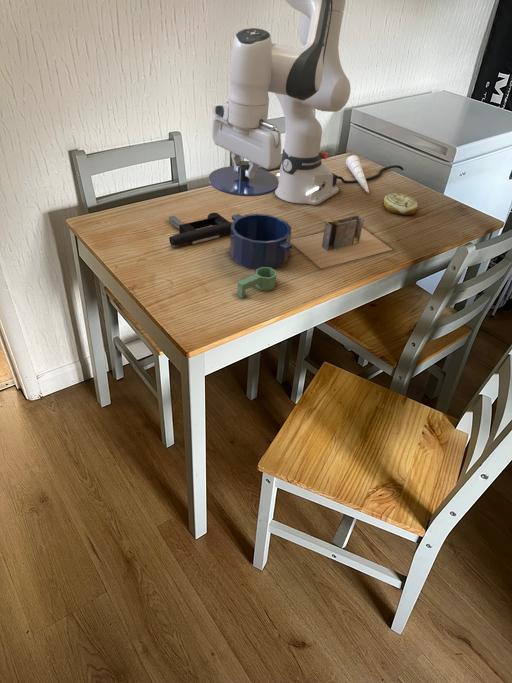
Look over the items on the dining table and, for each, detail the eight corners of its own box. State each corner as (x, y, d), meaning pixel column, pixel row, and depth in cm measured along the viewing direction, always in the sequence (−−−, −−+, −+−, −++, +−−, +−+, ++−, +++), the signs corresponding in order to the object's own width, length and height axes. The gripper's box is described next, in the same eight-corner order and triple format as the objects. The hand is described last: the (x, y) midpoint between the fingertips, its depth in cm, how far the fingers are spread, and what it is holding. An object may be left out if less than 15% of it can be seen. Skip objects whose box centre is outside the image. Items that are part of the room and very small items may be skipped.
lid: (246, 165, 138) (247, 145, 135) (292, 188, 129) (295, 167, 126) (194, 179, 129) (194, 158, 125) (240, 205, 120) (241, 182, 116)
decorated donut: (405, 220, 168) (408, 209, 165) (376, 208, 173) (378, 197, 171) (421, 210, 174) (424, 199, 172) (393, 199, 179) (395, 188, 177)
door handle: (150, 218, 153) (175, 240, 142) (211, 204, 162) (239, 224, 151) (151, 228, 155) (175, 251, 144) (211, 215, 164) (239, 235, 153)
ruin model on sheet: (321, 268, 143) (326, 235, 136) (288, 240, 153) (292, 208, 147) (392, 249, 153) (400, 218, 147) (357, 224, 164) (363, 194, 157)
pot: (254, 230, 156) (256, 205, 151) (307, 261, 145) (311, 235, 140) (212, 246, 148) (212, 220, 142) (264, 281, 136) (266, 253, 131)
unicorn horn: (357, 194, 180) (360, 180, 177) (344, 166, 199) (346, 154, 196) (371, 194, 181) (374, 181, 178) (357, 167, 199) (359, 154, 196)
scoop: (265, 277, 137) (266, 264, 135) (279, 286, 135) (280, 272, 132) (232, 292, 131) (233, 278, 129) (246, 301, 129) (247, 288, 126)
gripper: (291, 125, 115) (284, 186, 124) (229, 100, 126) (226, 158, 135) (270, 130, 111) (264, 193, 120) (208, 104, 122) (207, 163, 131)
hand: (244, 174), depth 127 cm, fingers closed on lid, 2 cm apart
